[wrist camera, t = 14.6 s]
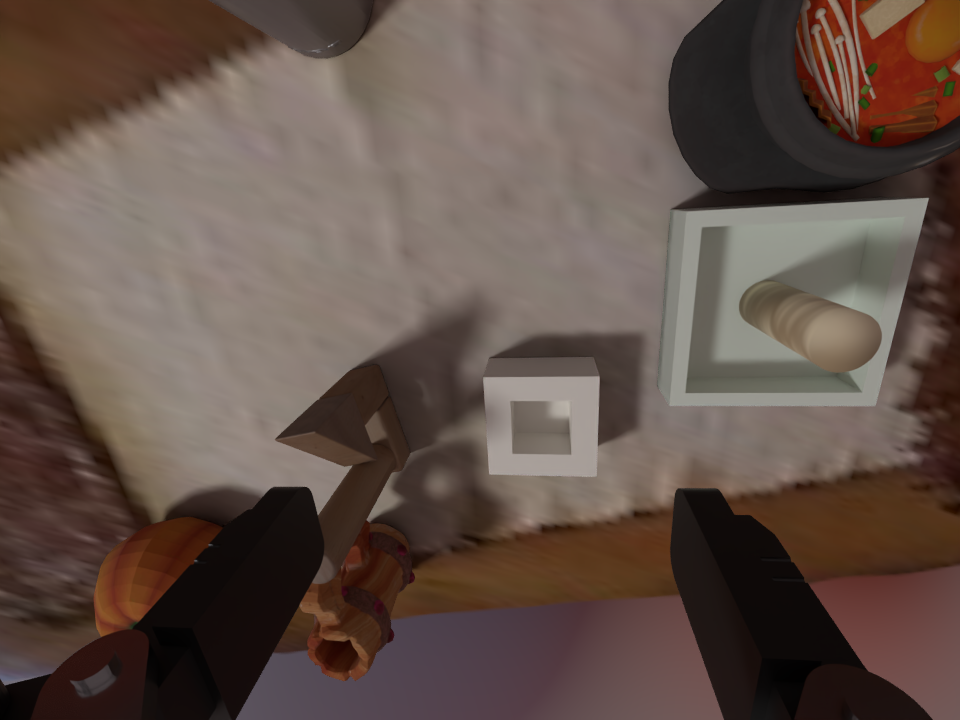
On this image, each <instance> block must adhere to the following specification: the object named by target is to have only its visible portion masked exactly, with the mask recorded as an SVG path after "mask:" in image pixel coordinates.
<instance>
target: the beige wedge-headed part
mask: <svg viewBox="0 0 960 720" xmlns="http://www.w3.org/2000/svg"><path fill="white" fill-rule="evenodd" d="M388 395H389V392H388V389H387V386H386V383H385V381H384V378H383V375H382V372H381V370H380V367H379V365H373V366H368V367H364V368H359V369H355V370H350V371H349V372H347V373H346V374H345V375H344V376H343V377H342V378H341V379H340V380H339V381H338V382H337V383H336V384H334V385H333V386H332V387H331V388H330V389H329V390H328V391H327V392H326V393H325V394H324V395H323V396H321V397H320V398H319V400H317V401H316V402H315V403H313V404H312V405H311V406H310V407H309V408H308V409H307V410H306V411H305V412H304V413H303V414H302V415H300V416H299V417H298V418H297V419H296V420H295V421H294V422H293V423H292V424H291V425H290V426H289V427H287V428H286V429H285V430H284V431H283V432H282V433H281V434H280V435H279V436H278V437H277V438H275V440H276V441H278V442H281V443H283V444H286V445H289V446H291V447H294V448H297V449H299V450H302V451H305V452H307V453H310V454H313V455H315V456H318V457H320V458H323V459H326V460H328V461H331V462H334V463H336V464H339V465H342V466H344V467H345V466H351V465H353V466H352V468H351V469H350V470H349V472H348V473H347V475H346V476H345V478H344V479H343V480H342V482H341V483H340V485H339V486H338V488H337V489H336V491H335V492H334V493H333V495H332V496H331V498H330V499H329V501H328V502H327V503H326V505H325V506H324V508H323V509H322V511H321V512H320V514H319V515H318V518H319V522H320V526H321V530H322V534H323V538H324V556H323V561H322V564H321V566H320V569H319V571H318V572H317V574H316V576H315V578H314V580H313V581H312V583H314V584H323V583H327V582H329V581H330V580H332V579H333V578H335V576H336V575H337V573H338V571H339V570H340V568H341V566H342V564H343V562H344V560H345V558H346V557H347V555H348V553H349V551H350V549H351V547H352V545H353V544H354V542H355V540H356V538H357V536H358V534H359V532H360V531H361V529H362V527H363V525H364V523H365V521H366V519H367V518H368V516H369V514H370V512H371V510H372V508H373V506H374V505H375V503H376V501H377V499H378V497H379V495H380V493H381V492H382V490H383V488H384V486H385V484H386V482H387V480H388V479H389V477H390V475H391V473H392V472H398V471H401V470H402V469H403V467H404V465H405V463H406V461H407V459H408V457H409V455H410V450H409V448H408V445H407V442H406V439H405V436H404V434H403V431H402V428H401V425H400V423H399V420H398V417H397V414H396V411H395V409H394V406H393V403H392V400H391V398H390V396H388Z"/></svg>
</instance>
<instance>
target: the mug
mask: <svg viewBox="0 0 960 720" xmlns="http://www.w3.org/2000/svg"><path fill="white" fill-rule="evenodd" d="M409 550H410V547H409V544H408V542H407V539H406V538H405V536H404V535H403V534H402V533H401V532H399V531H397V530H396V529H394V528H392V527H390V526H388V525H385V524H379V523H374V524H370V523H369V522H368V521H367V520H366V521H365V523H364V525H363V527H362V529H361V531H360V532H359V534H358V536H357V538H356V540H355V542H354V544H353V545H352V547H351V549H350V551H349V553H348V555H347V557H346V558H345V560H344V562H343V564H342V567H343V568H342V570H341V568H340V570H339V571H338V573H337V575H336V576H335V578H333V579H332V580H330V581H329V582H327V583H323V584H314V583H311V585H310V587H309V589H308V590H307V592H306V594H305V596H304V598H303V599H302V601H301V603H300V607H301V610H302V611H303V612H306V613H313V614H314V628H313V630H312V632H311V634H310V636H309V638H308V647H309V649H308V656H309V658H310V659H311V660H312V661H313V662H314V663H315V665H319V666H321V669H322V673H324V674H325V675H327V676H329V677H333V678H336V679H339V680H342V681H346V680H347V679H348V678H349V677H350V676H351V677H352V678H353V679H354V680H355V681H356V680H358V679H359V678H360V677H362V676H364V675H365V674H366V673H367V672H368V670H369V669H370V667H371V665H372V663H373V660H374V658H375V655H376V653H377V652H379V651H380V650H381V649H382V648H383V647H384V646H385V645H386V643H389V642H391V641H392V640H393V638H394V632H393V630H392V629H391V620H390V616H391V612H392V609H393V606H394V603H395V600H396V598H397V595H398V593H399V592H401V591H402V590H404V588H405V587H406V586H407V584H410V583H412V582H414V579H415V576H414V573H413V572H412V560H411V557H410V554H409Z"/></svg>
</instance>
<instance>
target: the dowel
mask: <svg viewBox="0 0 960 720" xmlns="http://www.w3.org/2000/svg"><path fill="white" fill-rule="evenodd" d="M739 312H740V315H741V317H742V318H743V319H744V321H746V322H747V323H749V324H750V325H752V326H753V327H755V328H757V329H758V330H760V331H762V332H763V333H765V334H767V335H768V336H770V337H771V338H773V339H775V340H776V341H778V342H780V343H781V344H783V345H785V346H786V347H788V348H789V349H791V350H793V351H794V352H796V353H798V354H799V355H801V356H803V357H804V358H806V359H807V360H809V361H811V362H812V363H814V364H816V365H817V366H819V367H821V368H822V369H824V370H826V371H830V372H836V373H841V372H848V371H852V370H855V369H857V368H859V367H861V366H863V365H864V364H866V363H867V362H868V361H870V360H871V359H872V358H873V356H874V355H875V354H876V352H877V351H878V349H879V347H880V344H881V340H882V331H881V328H880V326H879V324H878V322H877V321H876V320H875V319H874V318H873V317H871V316H870V315H868V314H865V313H862V312H860V311H857V310H854V309H851V308H849V307H846V306H843V305H840V304H838V303H835V302H832V301H829V300H827V299H824V298H821V297H818V296H815V295H813V294H810V293H807V292H804V291H802V290H799V289H796V288H793V287H791V286H788V285H785V284H782V283H779V282H777V281H772V280H765V281H760V282H757V283H755V284H753V285H752V286H750V287H749V288H748V289H747V290H746V291H745V292H744V294H743V295H742V297H741V299H740V302H739Z"/></svg>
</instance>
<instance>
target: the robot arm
mask: <svg viewBox="0 0 960 720" xmlns="http://www.w3.org/2000/svg"><path fill="white" fill-rule="evenodd" d="M209 1H211V2H213V3H214V4H216V5H218V6H220V7H221V8H223V9H225V10H226V11H228V12H230V13H232V14H233V15H235V16H237V17H239V18H240V19H242V20H244V21H245V22H247V23H249V24H251V25H252V26H254V27H256V28H257V29H259V30H261V31H263V32H264V33H266V34H268V35H270V36H271V37H273V38H275V39H276V40H278V41H280V42H282V43H284V44H285V45H287V46H288V47H289V48H291V49H293V50H296V51H298V52H299V53H301V54H303V55H305V56H309V57H313V58H331V57H335V56H338V55H340V54H342V53H344V52H345V51H347V50H349V49H350V48H351V47H352V46H353V45H354V44H355V43H356V42H357V41H358V39H359V38H360V36H361V35H362V34H363V32H364V30H365V28H366V25H367V23H368V21H369V18H370V13H371V9H372V2H373V0H209ZM208 545H209V546H208V548H205V549H204V550H203V551H202V552H201V553H200V554H199V555H198V557H197V558H196V559H195V560H194V564H193V565H192V564H190V565H189V567H188V568H187V569H186V570H185V571H184V572H183V573H182V574H181V575H180V577H179V578H178V579H177V580H176V581H175V582H174V583H173V584H172V585H171V587H170V588H169V589H168V590H167V591H166V592H165V593H164V594H163V595H162V597H161V598H160V599H159V600H158V601H157V602H156V603H155V604H154V605H153V607H152V608H151V609H150V610H149V611H148V612H147V613H146V614H145V615H144V617H143V618H142V619H141V620H140V621H139V622H138V623H137V624H136V625H135V627H134V628H133V629H127V630H120V631H117V632H113V633H110V634H107V635H105V636H102V637H100V638H98V639H96V640H94V641H92V642H91V643H89V644H87V645H85V646H84V647H82V648H81V649H79V650H78V651H76V652H75V653H74V654H73V655H71V656H70V657H69V658H67V659H66V660H65V661H64V662H63V663H62V664H61V665H60V666H59V667H58V668H57V669H56V670H55V671H54V672H53V673H52V674H49V675H45V676H41V677H37V678H33V679H29V680H25V681H21V682H17V683H13V684H9V685H5V686H4V684H3V683H2V681H1V680H0V720H236V718H237V716H238V714H239V713H240V711H241V709H242V707H243V705H244V704H245V702H246V700H247V698H248V696H249V695H250V693H251V691H252V689H253V688H254V686H255V684H256V682H257V680H258V679H259V677H260V675H261V673H262V671H263V670H264V668H265V666H266V664H267V662H268V661H269V659H270V657H271V655H272V653H273V652H274V650H275V648H276V646H277V644H278V643H279V641H280V639H281V637H282V635H283V634H284V632H285V630H286V628H287V626H288V625H289V623H290V621H291V619H292V617H293V616H294V614H295V612H296V610H297V608H298V607H299V605H300V603H301V601H302V599H303V598H304V596H305V594H306V592H307V590H308V589H309V587H310V585H311V583H312V581H313V580H314V578H315V576H316V574H317V572H318V571H319V569H320V566H321V564H322V561H323V556H324V538H323V534H322V530H321V526H320V522H319V518H318V515H317V511H316V507H315V503H314V499H313V496H312V493H311V491H310V489H309V488H307V487H273V488H271V489H270V490H269V491H268V492H267V493H266V494H265V495H264V496H263V497H262V498H261V500H260V501H259V502H258V503H257V504H256V505H255V507H254V508H253V509H252V510H247V511H246V512H244V513H243V514H241V515H240V516H238V517H237V518H235V519H234V520H233V521H231V522H230V523H228V524H227V525H225V527H224V528H223V529H222V530H221V531H220V532H219V533H218V534H217V535H216V537H215V538H214V539H213V540H212V541H211V542H210V543H209V544H208ZM670 554H671V564H672V570H673V574H674V578H675V581H676V584H677V587H678V590H679V593H680V596H681V598H682V601H683V604H684V607H685V610H686V613H687V615H688V618H689V621H690V624H691V627H692V630H693V633H694V635H695V638H696V641H697V644H698V647H699V650H700V652H701V655H702V658H703V661H704V664H705V667H706V669H707V672H708V675H709V678H710V681H711V684H712V687H713V689H714V692H715V695H716V698H717V701H718V703H719V707H720V709H721V712H722V715H723V718H724V720H933V719H932V718H931V717H930V716H929V715H928V713H927V712H926V711H925V710H924V709H923V708H922V707H921V706H920V705H919V704H918V703H917V702H916V701H915V700H914V699H912V698H911V697H910V696H908V695H907V694H906V693H905V692H904V691H902V690H901V689H899V688H898V687H896V686H895V685H893V684H892V683H890V682H889V681H887V680H885V679H883V678H881V677H880V676H878V675H875V674H873V673H871V672H869V671H868V670H867V669H866V668H865V666H864V665H863V664H862V662H861V661H860V659H859V658H858V657H857V655H856V654H855V652H854V651H853V649H852V648H851V646H850V645H849V643H848V642H847V640H846V639H845V638H844V636H843V634H842V633H841V632H840V630H839V629H838V627H837V626H836V624H835V623H834V621H833V620H832V618H831V617H830V615H829V614H828V612H827V611H826V609H825V608H824V606H823V605H822V604H821V602H820V600H819V599H818V598H817V596H816V595H815V593H814V592H813V590H812V589H811V587H810V586H809V584H808V583H805V581H804V577H803V575H802V574H801V573H800V571H799V570H798V568H797V567H796V565H795V564H794V562H791V559H790V556H789V555H788V553H787V552H786V550H785V549H784V547H783V546H782V545H781V543H780V542H779V540H778V539H777V537H776V536H775V534H773V533H772V532H771V531H770V530H768V529H767V528H766V527H764V526H763V525H762V524H761V523H759V522H758V521H757V520H756V519H754V518H753V517H752V516H751V515H734V513H733V512H732V510H731V508H730V507H729V505H728V503H727V502H726V500H725V498H724V497H723V495H722V493H721V492H720V491H719V490H718V489H715V488H678V489H677V490H676V493H675V499H674V511H673V522H672V534H671V546H670Z"/></svg>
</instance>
